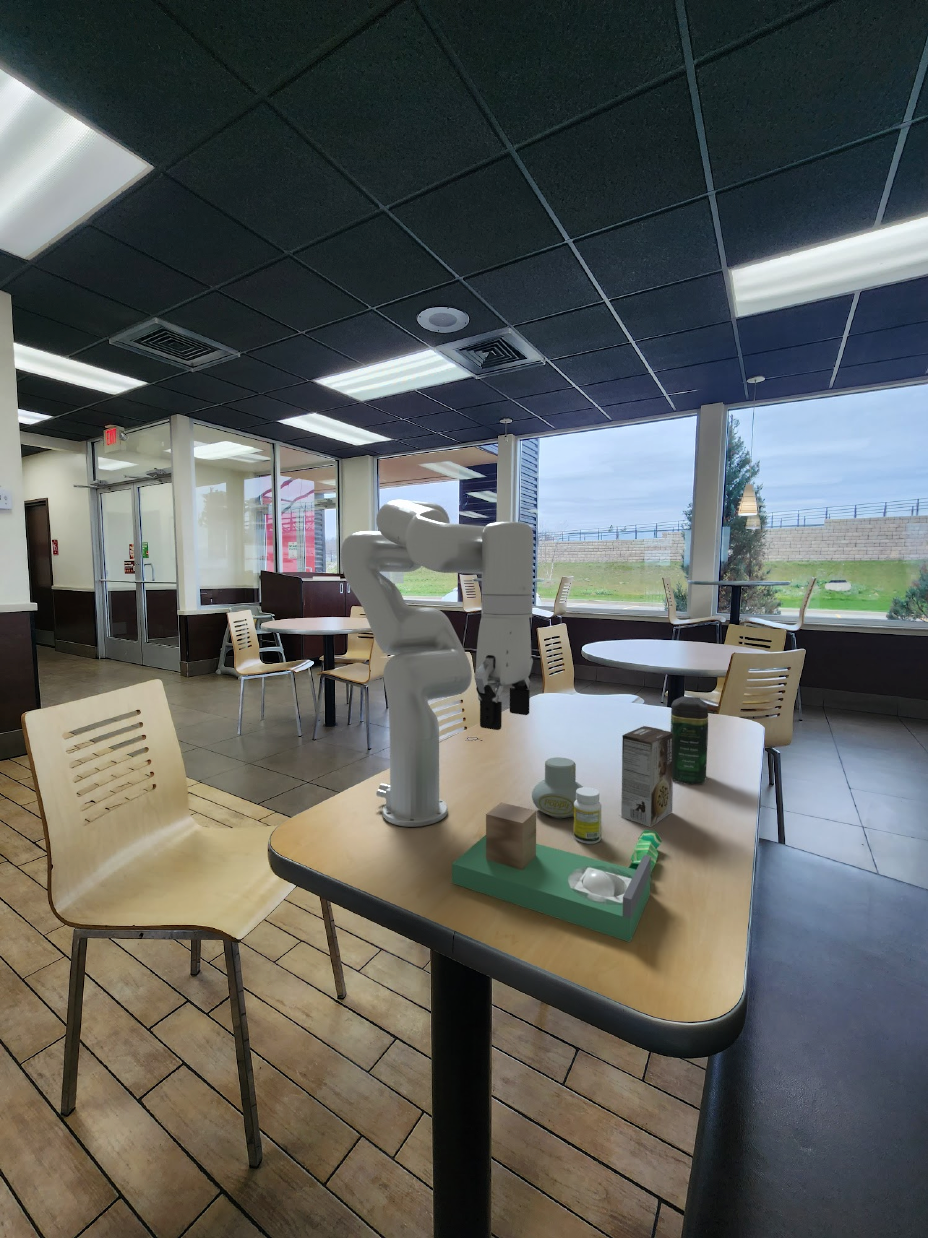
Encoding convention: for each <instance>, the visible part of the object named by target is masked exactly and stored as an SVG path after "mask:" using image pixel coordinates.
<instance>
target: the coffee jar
mask: <svg viewBox="0 0 928 1238" xmlns="http://www.w3.org/2000/svg"><path fill="white" fill-rule="evenodd" d="M708 705H709V704H707V702H706V701H704V700H703V699H701V698H700V697H695V696H693V697H692V696H684V695H683V696H681V697H678V698H676V699H674V700H673V701H672V703H671V705H670V707H671V710H670V712H671V713H670V732H673V781H677V782H679V783H681V784H684V783H685V785H697V784H699V785H702V784H704V783H705V781H706V779H707V768H708V767H707V766H708V765H707V763H708V762H707V761H708V746H709V745H708V741H709V706H708Z"/></svg>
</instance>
